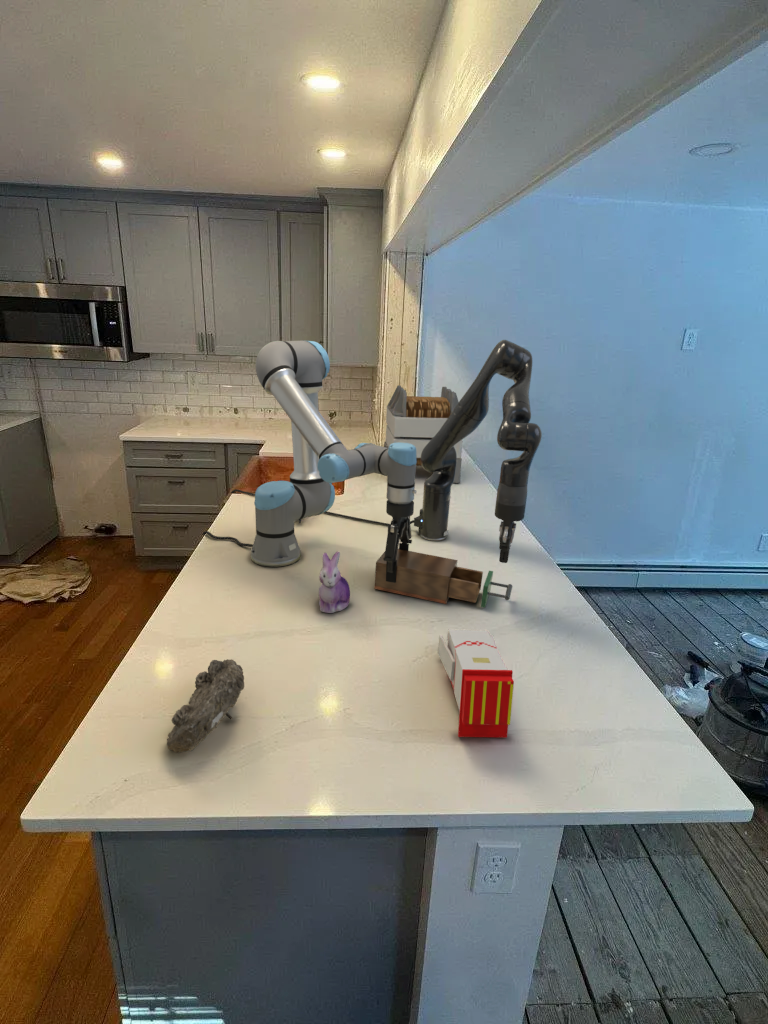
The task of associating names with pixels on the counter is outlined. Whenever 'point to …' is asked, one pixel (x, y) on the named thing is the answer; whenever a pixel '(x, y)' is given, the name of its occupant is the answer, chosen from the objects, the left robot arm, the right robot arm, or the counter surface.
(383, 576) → the cabinet
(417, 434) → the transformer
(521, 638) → the counter surface
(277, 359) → the left robot arm
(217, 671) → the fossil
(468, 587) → the drawer
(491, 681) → the toy
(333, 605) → the figurine
